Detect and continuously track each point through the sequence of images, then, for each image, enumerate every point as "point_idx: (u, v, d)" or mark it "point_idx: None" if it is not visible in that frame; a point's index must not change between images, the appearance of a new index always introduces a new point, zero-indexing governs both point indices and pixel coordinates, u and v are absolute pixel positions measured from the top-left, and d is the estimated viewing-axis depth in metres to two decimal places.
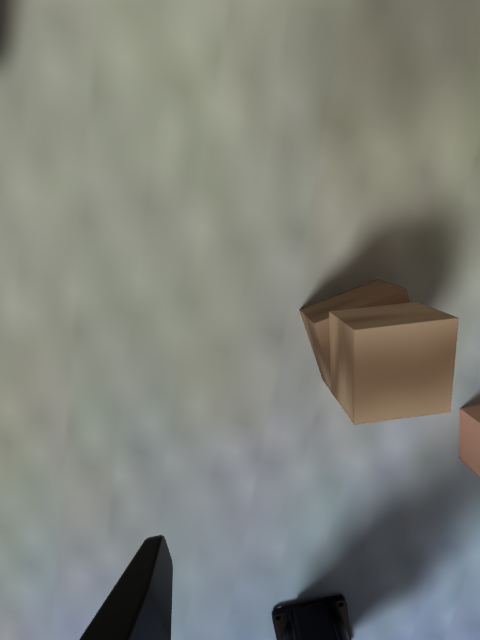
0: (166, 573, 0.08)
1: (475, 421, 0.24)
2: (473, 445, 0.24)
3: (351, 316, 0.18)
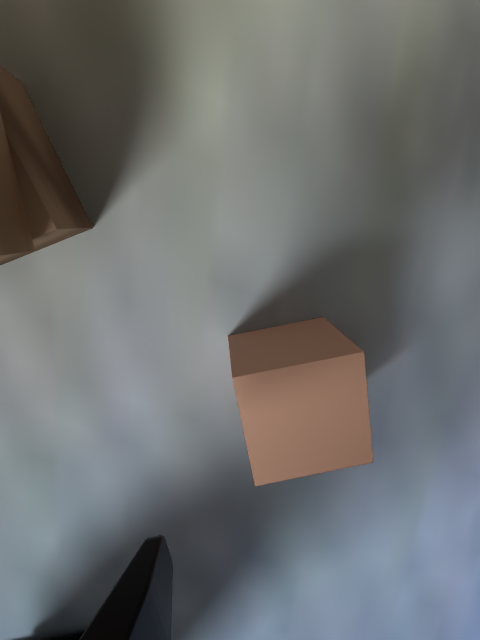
0: (166, 573, 0.08)
1: None
2: None
3: None
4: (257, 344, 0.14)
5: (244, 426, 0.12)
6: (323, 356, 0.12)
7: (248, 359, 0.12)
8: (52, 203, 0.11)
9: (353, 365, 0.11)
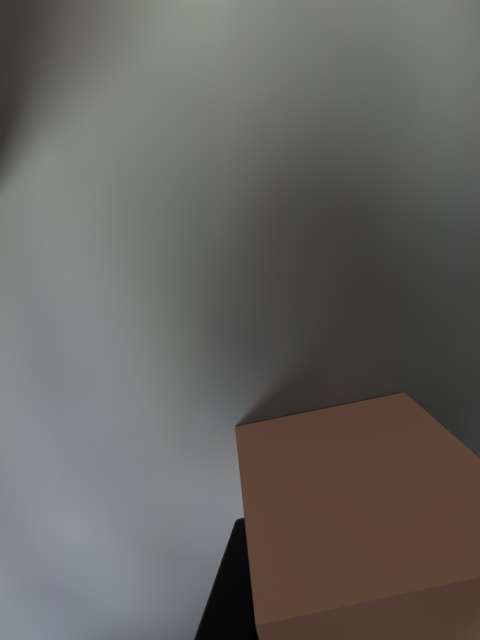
0: None
1: (240, 477, 0.07)
2: None
3: None
4: (295, 469, 0.07)
5: None
6: (478, 553, 0.05)
7: (284, 530, 0.06)
8: None
9: None
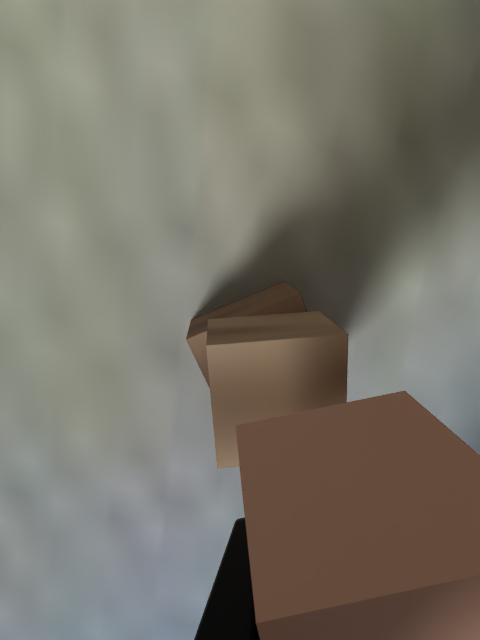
0: None
1: (241, 476, 0.07)
2: None
3: (225, 326, 0.14)
4: (296, 467, 0.07)
5: None
6: (479, 551, 0.05)
7: (285, 528, 0.06)
8: None
9: None
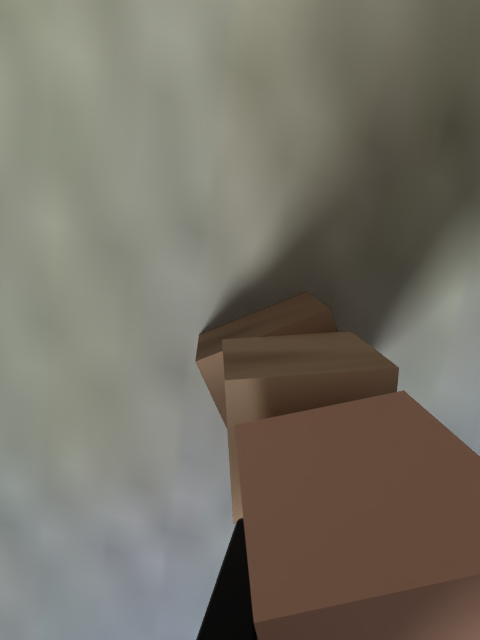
0: None
1: (240, 475, 0.07)
2: None
3: (244, 351, 0.11)
4: (294, 467, 0.07)
5: None
6: (476, 551, 0.05)
7: (283, 527, 0.06)
8: None
9: None
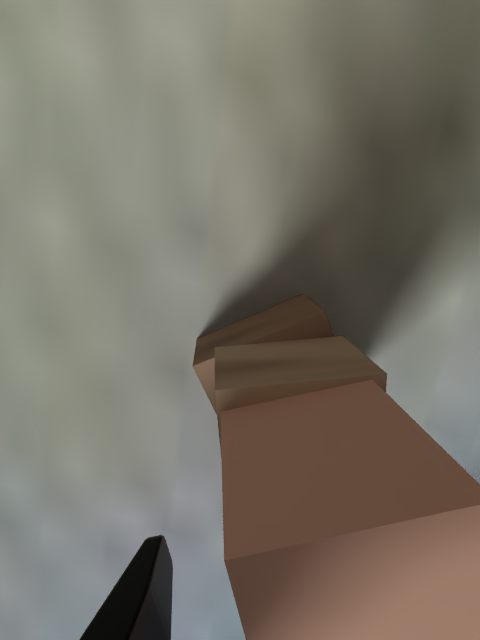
0: (166, 573, 0.08)
1: (222, 453, 0.08)
2: None
3: (235, 359, 0.12)
4: (269, 444, 0.08)
5: (250, 639, 0.06)
6: (409, 503, 0.06)
7: (254, 491, 0.07)
8: None
9: (472, 526, 0.06)
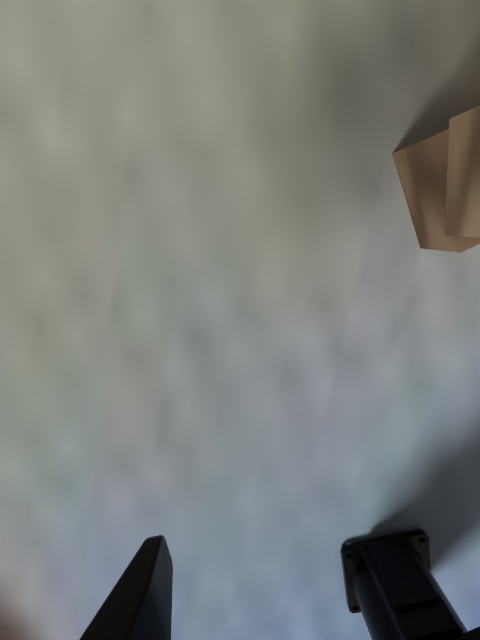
0: (166, 573, 0.08)
1: None
2: None
3: None
4: None
5: None
6: None
7: None
8: None
9: None
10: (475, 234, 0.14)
